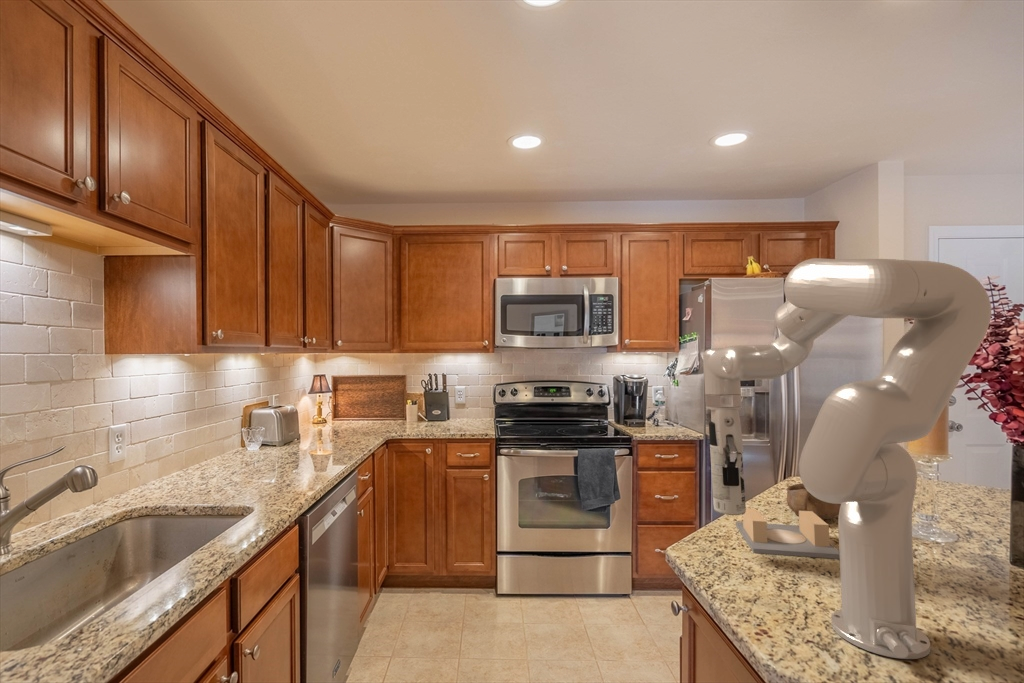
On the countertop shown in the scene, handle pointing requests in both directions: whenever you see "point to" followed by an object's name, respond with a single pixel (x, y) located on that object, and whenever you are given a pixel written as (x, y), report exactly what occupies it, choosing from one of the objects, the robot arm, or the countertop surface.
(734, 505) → the spray can
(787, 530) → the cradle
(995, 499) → the countertop surface
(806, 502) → the bowl
